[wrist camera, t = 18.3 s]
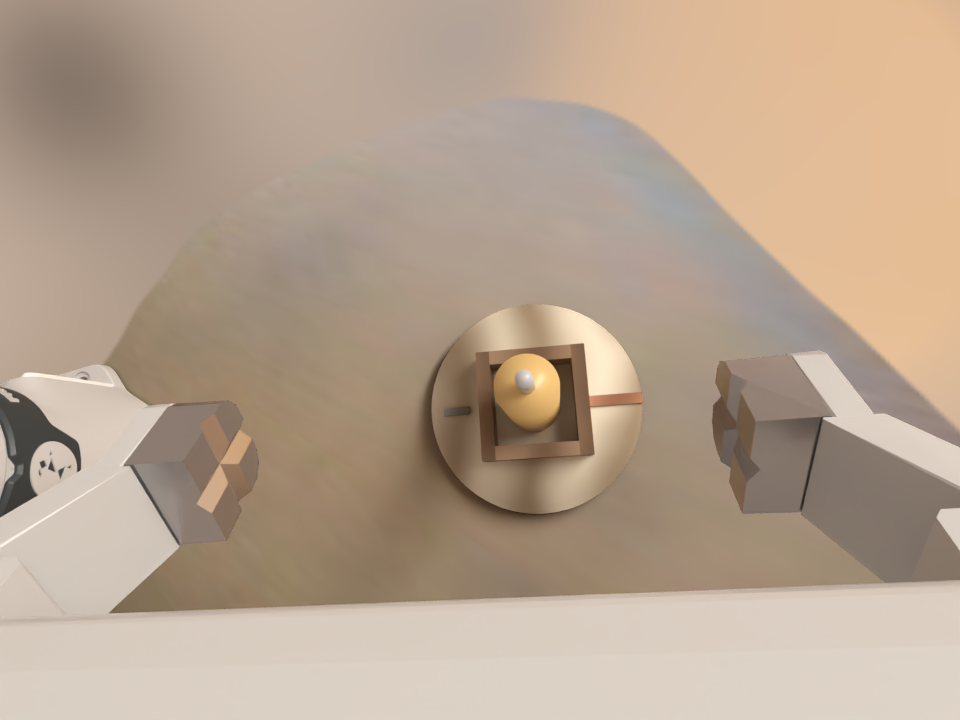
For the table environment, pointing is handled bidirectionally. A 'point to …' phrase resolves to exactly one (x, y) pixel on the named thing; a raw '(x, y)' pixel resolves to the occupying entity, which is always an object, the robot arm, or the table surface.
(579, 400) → the dial plate
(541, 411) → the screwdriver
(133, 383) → the table surface
